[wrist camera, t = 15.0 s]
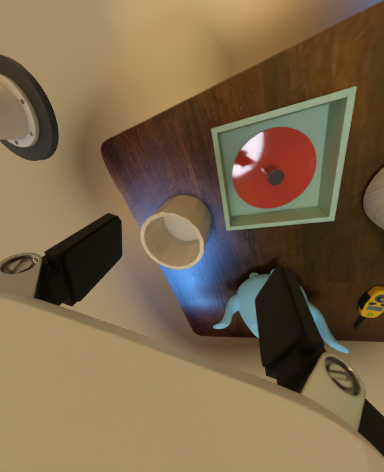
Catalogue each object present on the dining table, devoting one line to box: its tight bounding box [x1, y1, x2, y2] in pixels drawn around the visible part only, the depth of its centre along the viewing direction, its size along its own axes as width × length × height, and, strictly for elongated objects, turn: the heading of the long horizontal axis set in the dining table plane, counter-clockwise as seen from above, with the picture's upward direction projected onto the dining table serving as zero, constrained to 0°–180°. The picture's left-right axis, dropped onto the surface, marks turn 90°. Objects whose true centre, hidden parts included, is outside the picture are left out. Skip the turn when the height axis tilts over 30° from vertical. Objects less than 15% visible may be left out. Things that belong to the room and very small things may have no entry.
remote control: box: [354, 286, 384, 329], centre depth 40 cm, size 5×2×15 cm
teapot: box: [214, 269, 349, 353], centre depth 39 cm, size 16×20×14 cm
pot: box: [140, 195, 212, 270], centre depth 36 cm, size 13×13×10 cm
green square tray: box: [211, 86, 357, 231], centre depth 29 cm, size 18×18×6 cm
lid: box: [232, 127, 317, 209], centre depth 28 cm, size 14×14×6 cm
